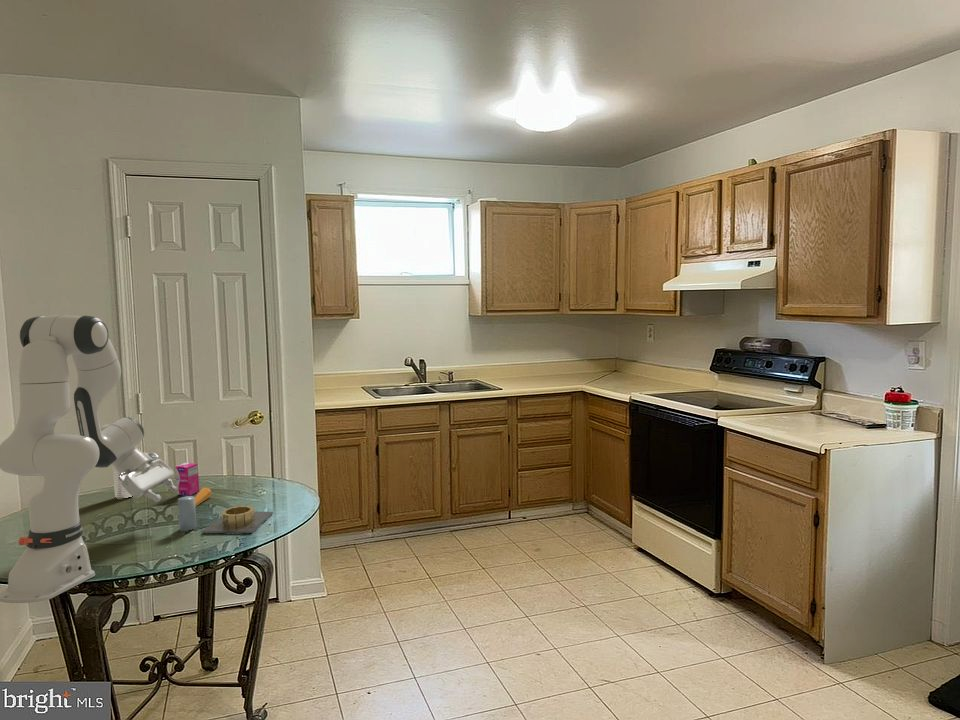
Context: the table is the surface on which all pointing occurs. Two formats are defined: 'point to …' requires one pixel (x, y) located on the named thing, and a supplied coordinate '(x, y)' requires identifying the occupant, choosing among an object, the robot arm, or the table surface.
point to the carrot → (202, 496)
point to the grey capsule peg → (187, 513)
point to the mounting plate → (248, 528)
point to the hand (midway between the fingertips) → (167, 495)
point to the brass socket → (238, 516)
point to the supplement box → (187, 479)
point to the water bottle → (119, 486)
